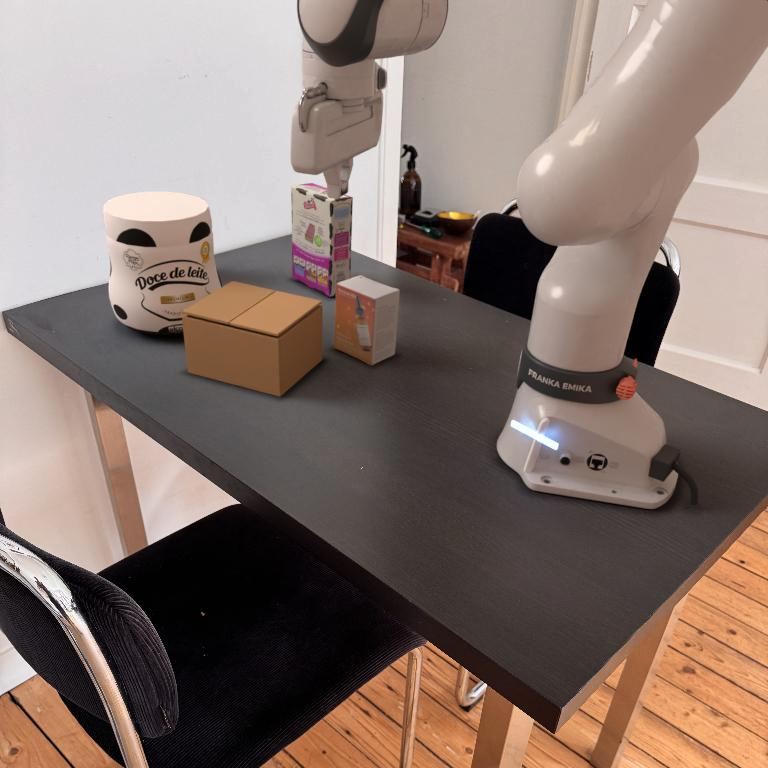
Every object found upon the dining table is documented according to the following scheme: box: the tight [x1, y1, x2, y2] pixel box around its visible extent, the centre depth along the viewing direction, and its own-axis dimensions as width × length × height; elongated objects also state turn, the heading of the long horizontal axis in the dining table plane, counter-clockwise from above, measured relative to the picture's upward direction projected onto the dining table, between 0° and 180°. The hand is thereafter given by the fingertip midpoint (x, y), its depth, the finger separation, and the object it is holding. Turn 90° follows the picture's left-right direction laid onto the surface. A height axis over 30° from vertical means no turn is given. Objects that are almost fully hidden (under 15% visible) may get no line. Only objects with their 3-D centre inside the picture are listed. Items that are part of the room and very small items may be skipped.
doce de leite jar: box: [102, 190, 223, 336], centre depth 121 cm, size 17×17×18 cm
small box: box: [333, 274, 401, 366], centre depth 118 cm, size 8×6×10 cm
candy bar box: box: [290, 182, 354, 298], centre depth 137 cm, size 11×5×16 cm, turn 43°
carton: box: [182, 280, 323, 398], centre depth 112 cm, size 15×13×9 cm
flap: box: [229, 290, 323, 336], centre depth 109 cm, size 7×13×1 cm, turn 157°
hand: (337, 195), depth 104 cm, fingers closed
